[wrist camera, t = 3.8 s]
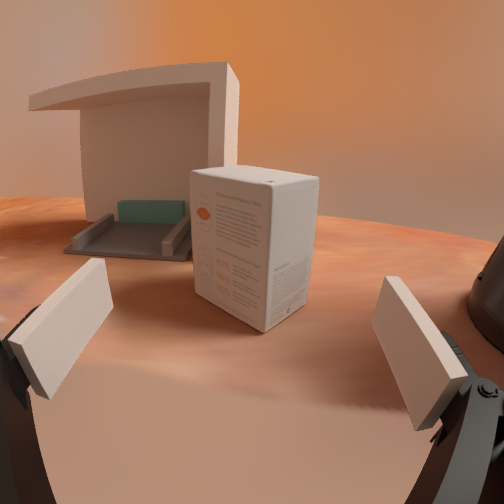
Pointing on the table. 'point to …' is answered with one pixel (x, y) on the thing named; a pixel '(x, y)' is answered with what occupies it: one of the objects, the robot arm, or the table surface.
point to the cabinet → (147, 152)
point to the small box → (253, 240)
